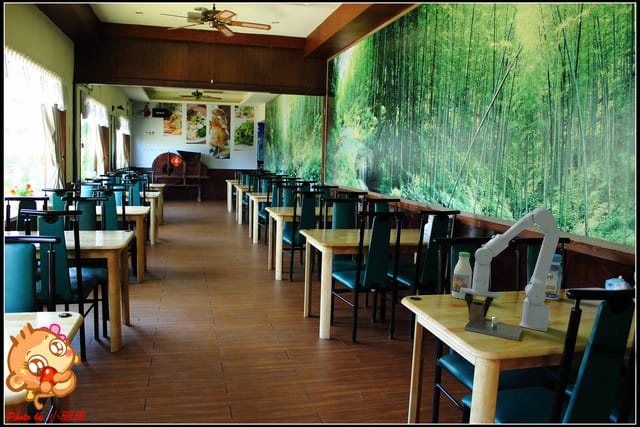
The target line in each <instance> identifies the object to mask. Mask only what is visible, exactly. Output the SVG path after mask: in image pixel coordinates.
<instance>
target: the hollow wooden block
mask: <svg viewBox="0 0 640 427" xmlns="http://www.w3.org/2000/svg"><path fill="white" fill-rule="evenodd" d="M484 310H485V301H484V302H483V301H478V300H473V302H472V303H471V304H470V310H469V311H468V321H470V320H471V319H478V320H483V321H485V319H486V317H487V316H486V317H484Z"/></svg>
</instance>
